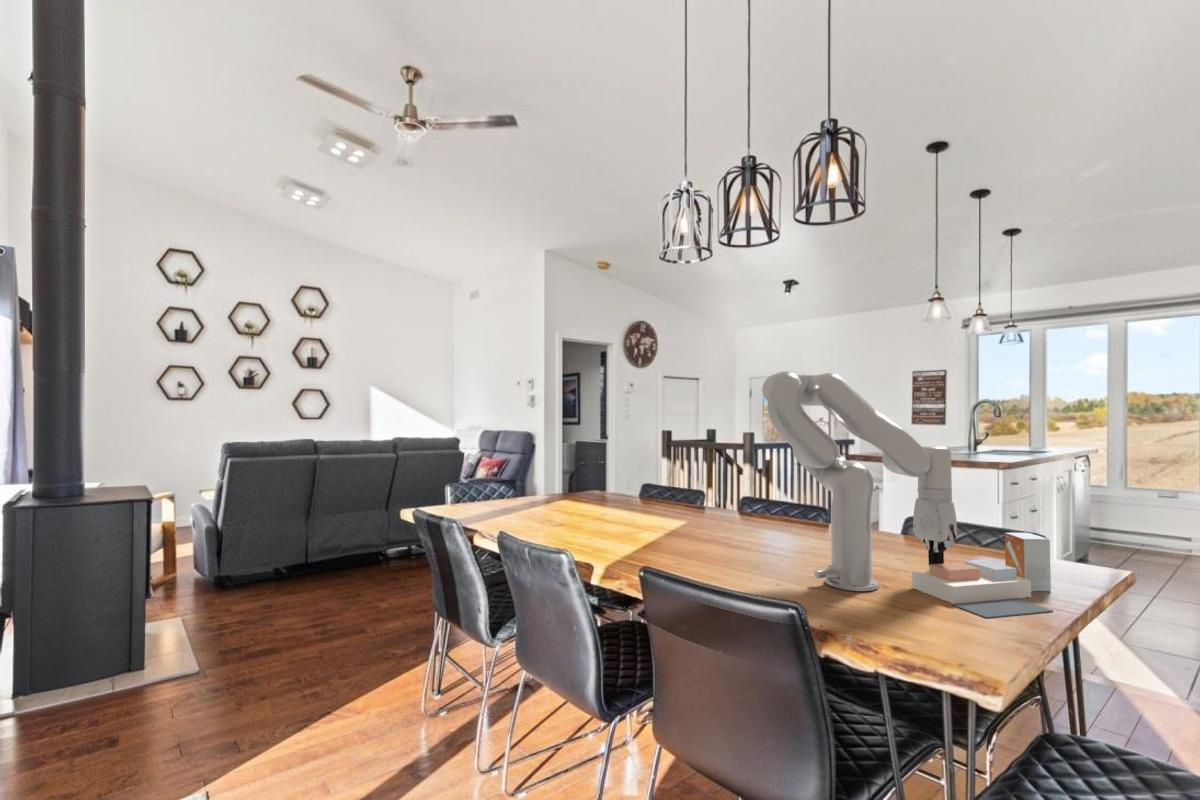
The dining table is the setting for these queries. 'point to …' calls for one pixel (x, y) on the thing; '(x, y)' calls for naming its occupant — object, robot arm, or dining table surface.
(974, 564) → the blue-grey tile
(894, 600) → the dining table surface
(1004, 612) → the mat
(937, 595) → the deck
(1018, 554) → the small box
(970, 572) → the terracotta tile
